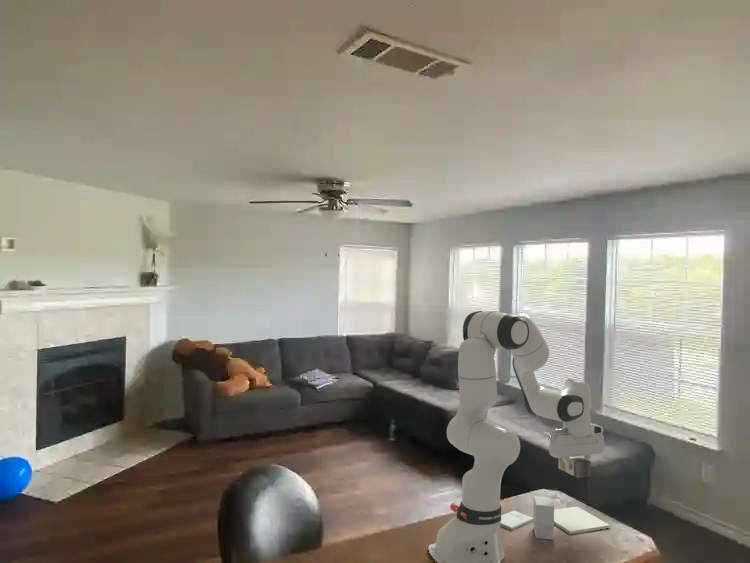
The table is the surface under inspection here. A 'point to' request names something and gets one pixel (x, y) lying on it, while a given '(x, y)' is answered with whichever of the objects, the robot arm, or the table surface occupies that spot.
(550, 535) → the small box
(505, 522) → the external hard drive
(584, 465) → the maple block
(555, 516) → the sage board
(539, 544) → the table surface
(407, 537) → the table surface
